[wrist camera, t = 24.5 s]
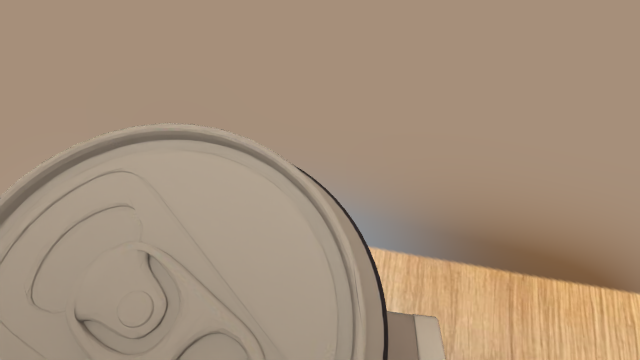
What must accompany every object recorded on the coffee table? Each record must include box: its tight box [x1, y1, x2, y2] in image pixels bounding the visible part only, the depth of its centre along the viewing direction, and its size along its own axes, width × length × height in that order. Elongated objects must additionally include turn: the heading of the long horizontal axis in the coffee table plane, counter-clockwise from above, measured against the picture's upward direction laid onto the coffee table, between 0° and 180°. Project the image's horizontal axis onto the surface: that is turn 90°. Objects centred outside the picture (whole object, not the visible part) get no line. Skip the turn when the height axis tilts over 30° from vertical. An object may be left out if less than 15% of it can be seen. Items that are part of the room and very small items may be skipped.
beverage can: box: [0, 123, 388, 360], centre depth 11 cm, size 6×6×12 cm
